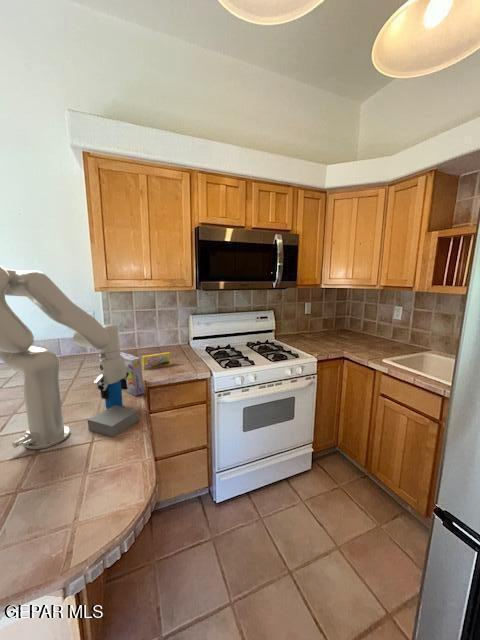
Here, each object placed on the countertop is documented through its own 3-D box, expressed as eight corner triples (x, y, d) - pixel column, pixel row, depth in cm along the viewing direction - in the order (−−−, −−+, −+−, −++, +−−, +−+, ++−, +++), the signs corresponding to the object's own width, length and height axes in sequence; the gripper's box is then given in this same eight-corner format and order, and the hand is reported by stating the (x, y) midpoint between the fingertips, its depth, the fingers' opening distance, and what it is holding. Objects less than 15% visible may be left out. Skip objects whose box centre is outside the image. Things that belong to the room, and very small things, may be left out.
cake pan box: (115, 387, 136) (112, 353, 133) (124, 383, 140) (121, 350, 137) (134, 397, 124) (132, 360, 121) (144, 393, 128) (142, 357, 125)
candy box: (143, 370, 161) (142, 356, 159) (142, 369, 162) (142, 356, 161) (170, 365, 169) (169, 352, 168) (169, 364, 171) (168, 351, 170)
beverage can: (118, 402, 118) (116, 376, 117) (125, 407, 114) (123, 380, 113) (103, 408, 114) (100, 381, 112) (110, 413, 109) (107, 385, 108)
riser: (112, 437, 93) (111, 426, 92) (88, 429, 97) (87, 419, 97) (138, 420, 104) (137, 410, 103) (115, 414, 108) (114, 405, 108)
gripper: (98, 362, 101) (103, 404, 104) (133, 349, 117) (136, 386, 120) (84, 360, 104) (90, 401, 107) (120, 348, 120) (124, 384, 123)
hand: (114, 393), depth 114 cm, fingers open, 9 cm apart
